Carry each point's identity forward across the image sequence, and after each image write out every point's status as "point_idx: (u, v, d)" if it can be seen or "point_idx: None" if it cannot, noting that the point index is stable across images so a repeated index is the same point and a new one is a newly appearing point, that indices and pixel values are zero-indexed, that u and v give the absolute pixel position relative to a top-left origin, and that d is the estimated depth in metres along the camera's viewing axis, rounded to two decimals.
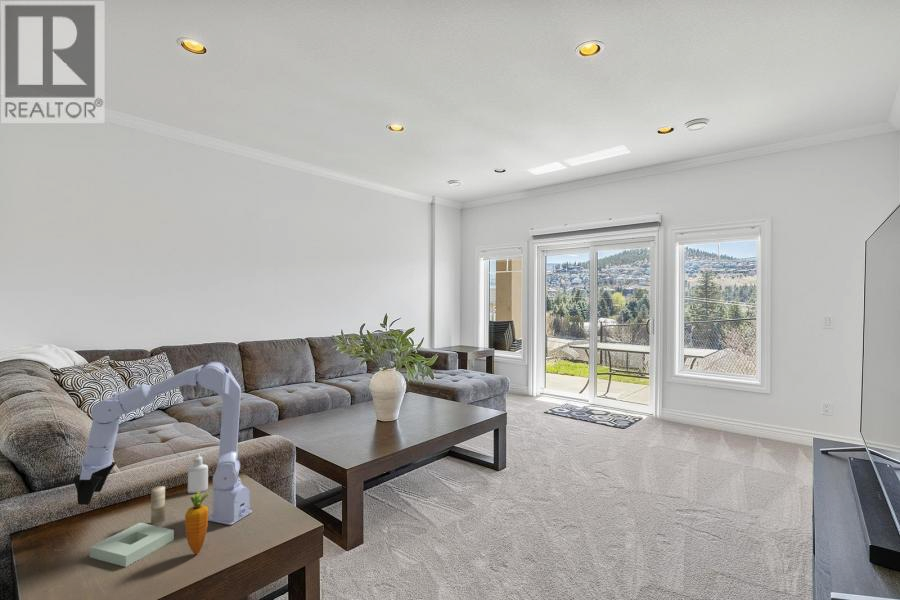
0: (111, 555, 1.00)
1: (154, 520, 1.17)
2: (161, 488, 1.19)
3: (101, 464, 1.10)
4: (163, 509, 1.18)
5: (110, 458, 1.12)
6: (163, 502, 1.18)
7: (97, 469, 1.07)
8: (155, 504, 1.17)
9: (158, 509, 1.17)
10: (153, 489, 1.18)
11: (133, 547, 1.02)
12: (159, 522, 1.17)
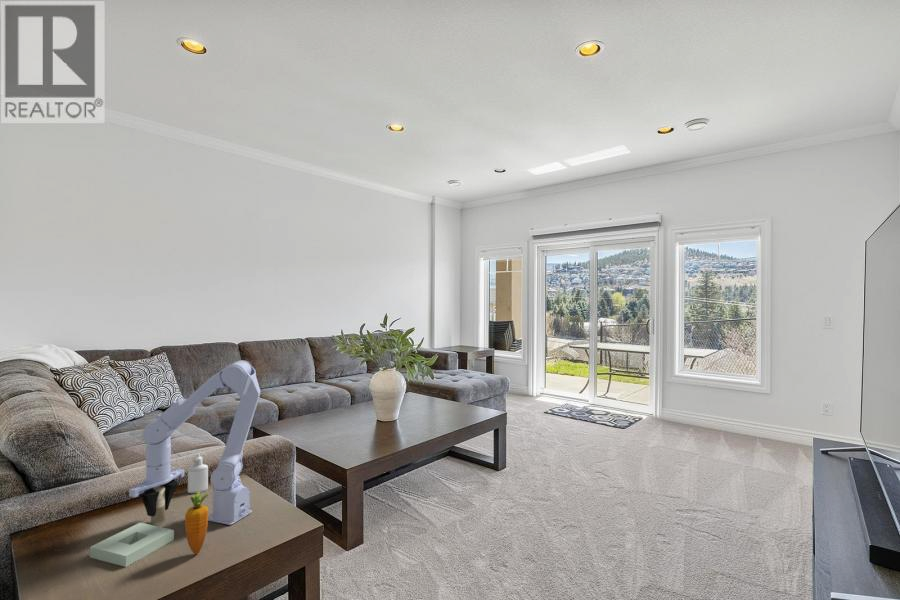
0: (111, 555, 1.00)
1: (154, 520, 1.17)
2: (161, 488, 1.19)
3: (154, 482, 1.16)
4: (163, 509, 1.18)
5: (164, 477, 1.17)
6: (163, 502, 1.18)
7: (145, 487, 1.14)
8: None
9: (158, 509, 1.17)
10: None
11: (133, 547, 1.02)
12: (159, 522, 1.17)
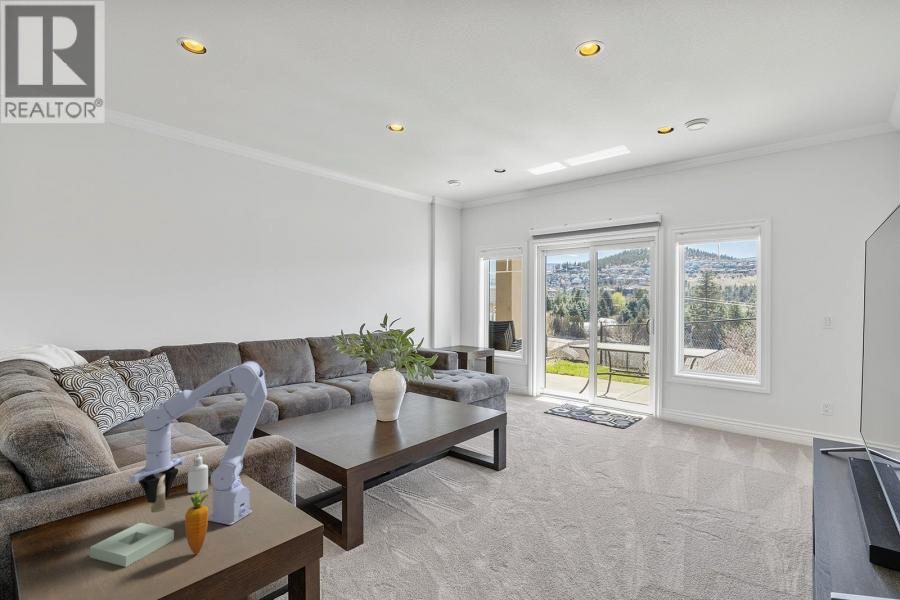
0: (111, 555, 1.00)
1: (154, 507, 1.17)
2: (161, 475, 1.19)
3: (154, 469, 1.16)
4: (163, 496, 1.19)
5: (164, 463, 1.17)
6: (163, 489, 1.19)
7: (146, 474, 1.14)
8: None
9: (158, 496, 1.17)
10: None
11: (133, 547, 1.02)
12: (159, 509, 1.17)
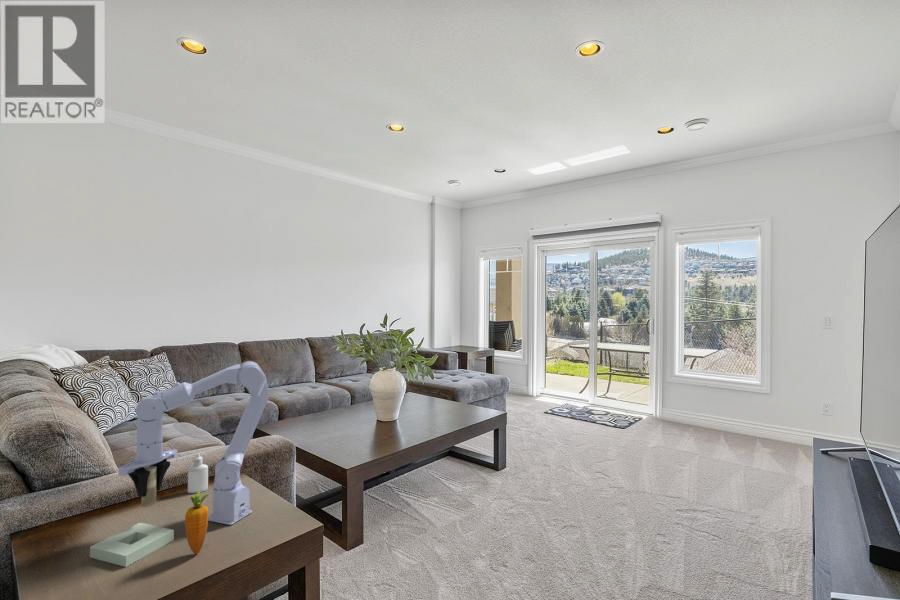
0: (111, 555, 1.00)
1: (144, 501, 1.12)
2: (152, 468, 1.14)
3: (144, 461, 1.11)
4: (154, 489, 1.14)
5: (155, 456, 1.12)
6: (154, 482, 1.14)
7: (135, 466, 1.09)
8: None
9: (149, 490, 1.12)
10: (144, 468, 1.13)
11: (133, 547, 1.02)
12: (150, 503, 1.13)
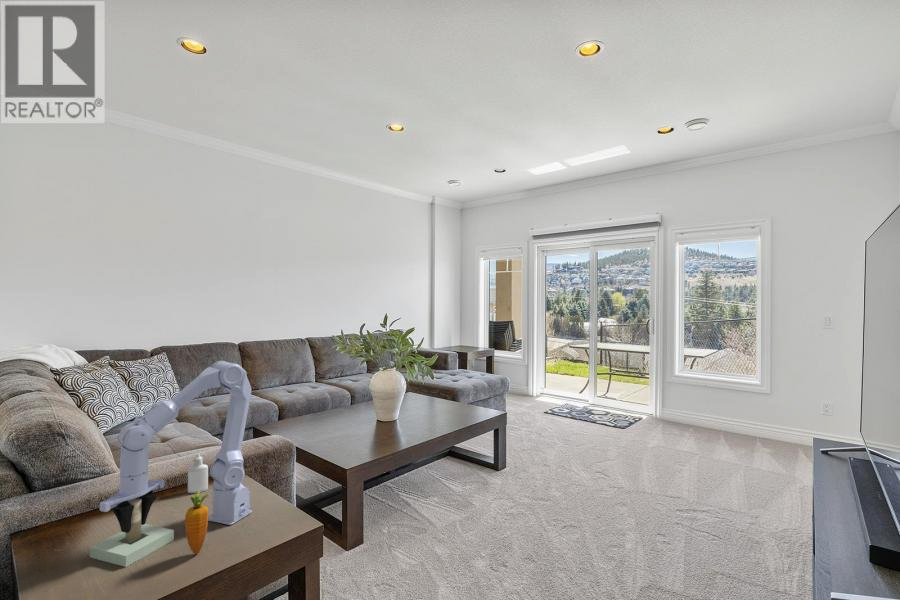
0: (111, 555, 1.00)
1: (128, 536, 1.05)
2: (137, 501, 1.06)
3: (128, 494, 1.03)
4: (139, 524, 1.06)
5: (140, 488, 1.05)
6: (139, 516, 1.06)
7: (118, 500, 1.01)
8: None
9: (133, 525, 1.05)
10: (128, 502, 1.06)
11: (133, 547, 1.02)
12: (134, 539, 1.05)
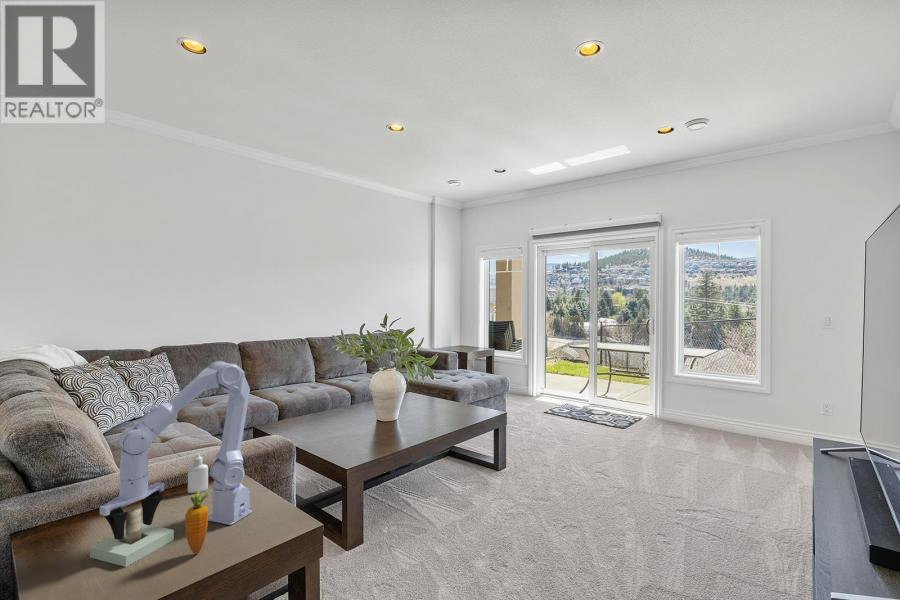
0: (111, 555, 1.00)
1: None
2: (137, 509, 1.06)
3: (128, 498, 1.03)
4: (139, 533, 1.06)
5: (140, 492, 1.05)
6: (139, 525, 1.06)
7: (118, 504, 1.01)
8: (130, 527, 1.05)
9: (133, 534, 1.05)
10: (128, 511, 1.06)
11: (133, 547, 1.02)
12: None
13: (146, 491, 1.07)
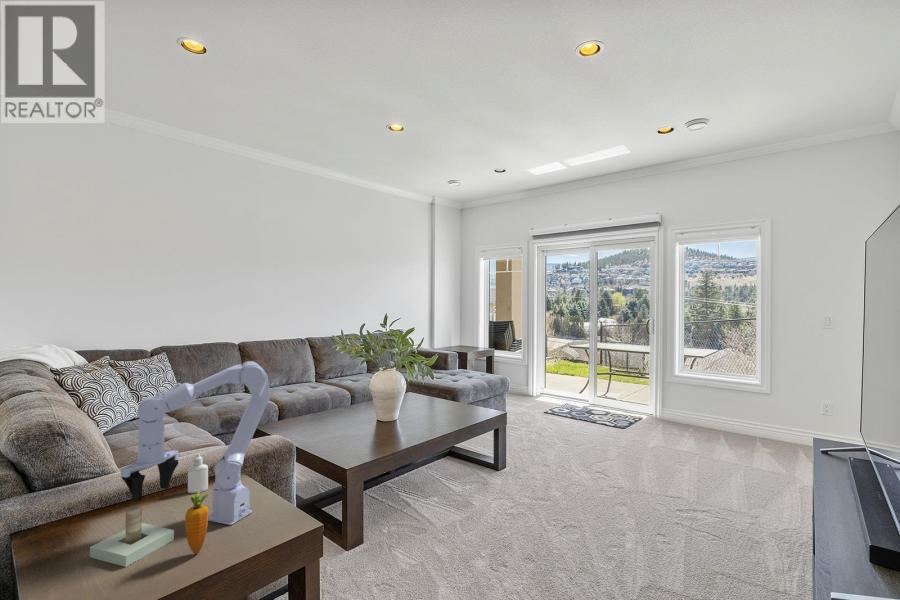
0: (111, 555, 1.00)
1: None
2: (137, 509, 1.06)
3: (146, 462, 1.11)
4: (139, 533, 1.06)
5: (157, 457, 1.12)
6: (139, 525, 1.06)
7: (138, 467, 1.08)
8: (130, 527, 1.05)
9: (133, 534, 1.05)
10: (128, 511, 1.06)
11: (133, 547, 1.02)
12: None
13: (163, 456, 1.14)
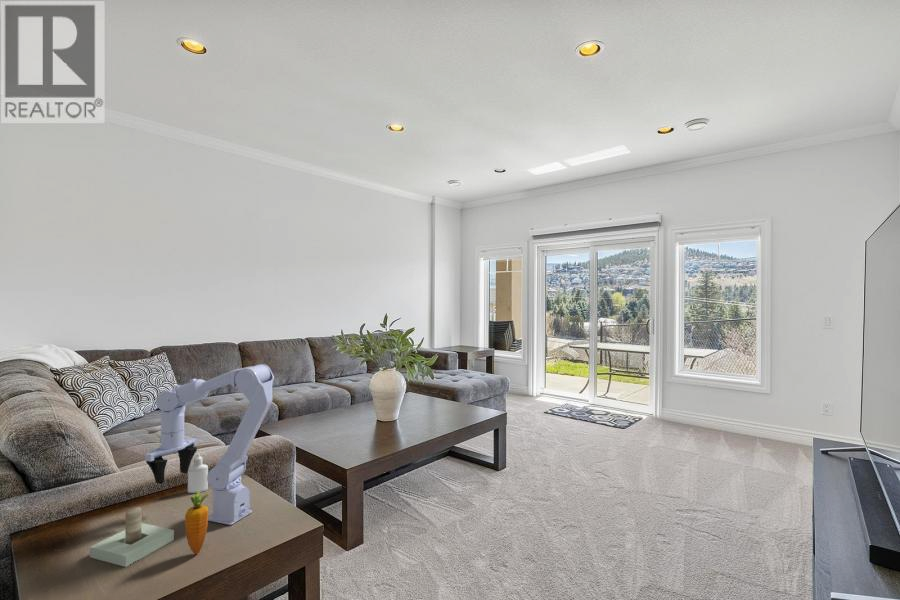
0: (111, 555, 1.00)
1: None
2: (137, 509, 1.06)
3: (168, 448, 1.21)
4: (139, 533, 1.06)
5: (178, 443, 1.22)
6: (139, 525, 1.06)
7: (161, 452, 1.19)
8: (130, 527, 1.05)
9: (133, 534, 1.05)
10: (128, 511, 1.06)
11: (133, 547, 1.02)
12: None
13: (183, 443, 1.24)
